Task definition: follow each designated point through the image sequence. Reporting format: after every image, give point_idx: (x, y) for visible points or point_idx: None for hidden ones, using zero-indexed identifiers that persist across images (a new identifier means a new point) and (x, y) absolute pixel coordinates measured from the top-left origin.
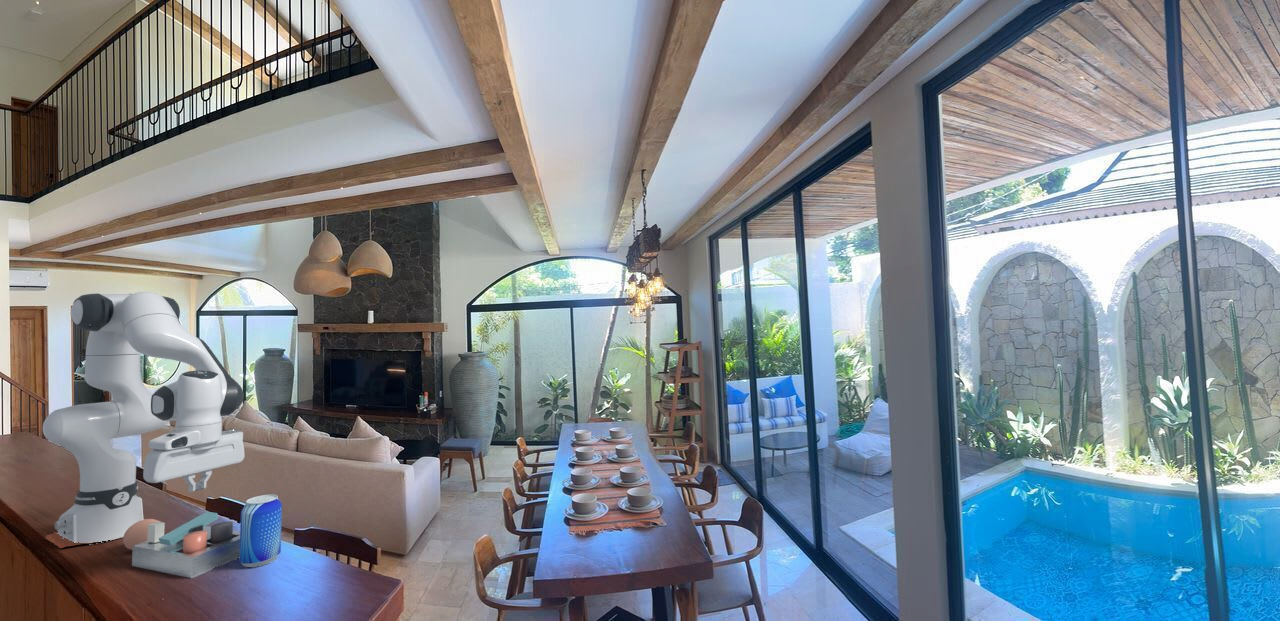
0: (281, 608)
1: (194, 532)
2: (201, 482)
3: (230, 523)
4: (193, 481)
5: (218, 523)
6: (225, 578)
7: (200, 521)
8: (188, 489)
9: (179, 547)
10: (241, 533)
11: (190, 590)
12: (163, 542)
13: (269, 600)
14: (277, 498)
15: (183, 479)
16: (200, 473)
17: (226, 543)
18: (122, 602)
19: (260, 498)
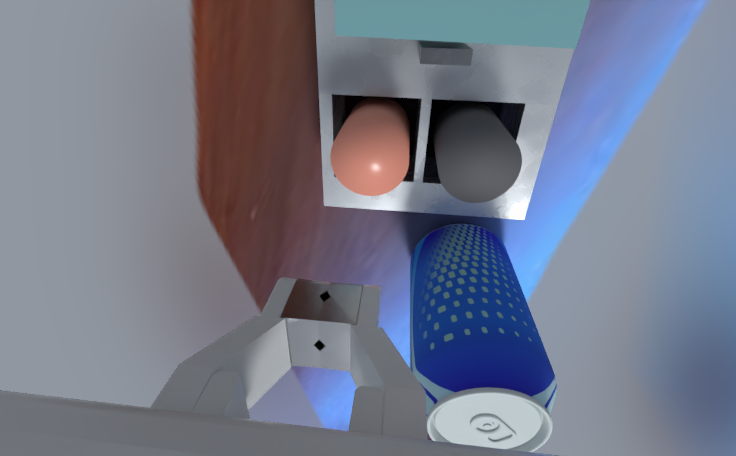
0: (318, 407)
1: (381, 136)
2: (339, 363)
3: (499, 186)
4: (256, 396)
5: (494, 131)
6: (362, 255)
7: (487, 28)
8: (275, 288)
9: (363, 67)
10: (413, 310)
11: (298, 234)
12: None
13: (328, 382)
14: (525, 442)
15: (188, 359)
16: (353, 402)
17: (431, 209)
18: (199, 138)
19: (506, 408)
